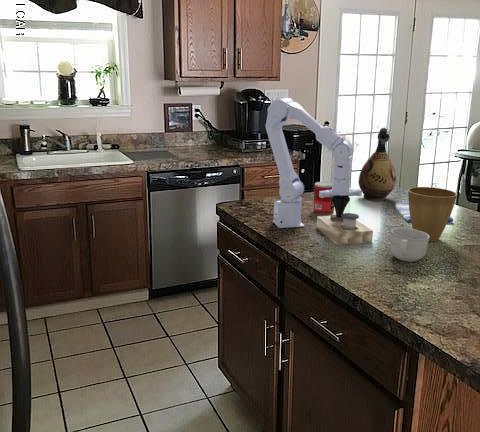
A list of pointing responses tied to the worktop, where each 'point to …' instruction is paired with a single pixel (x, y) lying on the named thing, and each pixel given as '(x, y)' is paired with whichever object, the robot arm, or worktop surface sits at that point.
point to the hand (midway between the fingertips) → (339, 217)
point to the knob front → (349, 221)
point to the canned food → (324, 203)
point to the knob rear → (336, 218)
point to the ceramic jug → (378, 172)
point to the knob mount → (344, 231)
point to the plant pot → (430, 209)
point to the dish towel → (405, 213)
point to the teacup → (408, 244)
